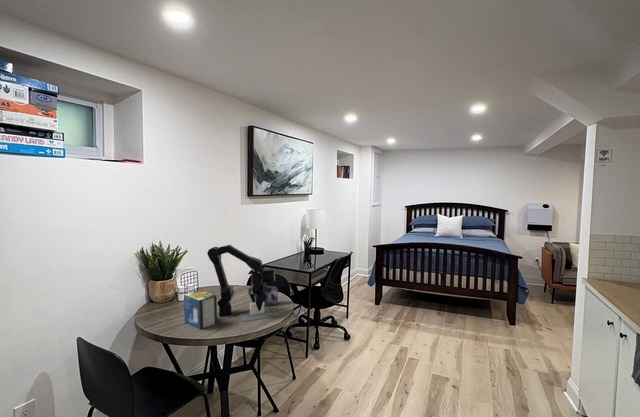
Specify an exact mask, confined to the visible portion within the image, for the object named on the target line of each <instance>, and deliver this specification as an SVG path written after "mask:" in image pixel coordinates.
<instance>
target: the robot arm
mask: <svg viewBox="0 0 640 417" xmlns="http://www.w3.org/2000/svg"><path fill="white" fill-rule="evenodd" d="M226 253H227V254H230V255H231V256H232V257H234V258H236V259H237V260H240V261H242V262H243V263H245V264H246V265H247V266H248V267H249V268H250V270H249V272H247V274H248V275H251V283H250V285H251V287H248V289H247V293H248V295H249V297H250V300H251V303H256V305H257V308H258V311H260V310H261V307H262V303H263V302H264V301H265V300H266V299H267V296H266V295H265V294H264V292H268V293H271V290H272V286H270V285H269V284H268V283H267V282H276V274H275V273H276V272H275V269H272V268H271V269H266V267H265V266H264V265H263V262H262V260H261V259H260V258H257V257H254V256H250V255H248V254H247V253H245V252H243V251H241V250H239V249H238V248H236V247H234V246H233V245H231V244H227V245H223V246H219V247H218V246H212V247H211V248H209V249H208V251H207V256H208V259H209V260H210V262H211V263H212V264H213V267H214V271H215V274H216V276H217V279H218V283H219V286H220V299H219V300H218V301H217V305H218V306H217V315H218V316H219V317H227V316H231V315H232V304H231V301H232V299H233V298H234V296H235V291H234V286H233V285H231V286H230V285H229V282H228V279H227V276H226V273H225V269H224V266H223V264H222V255H224V254H226ZM263 281H264V283H263Z"/></svg>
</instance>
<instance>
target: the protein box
mask: <svg viewBox="0 0 640 417" xmlns="http://www.w3.org/2000/svg"><path fill="white" fill-rule="evenodd" d="M217 300H218V299H217V294H215V293H210V292H209V291H208V292H207V291H204V290H197V291H194V292H188V293H184V294H183V301H184V303H183V306H184V310H183V311H184V323H185V324H187V323H188V324H187V325H189V324H190V325H189V326H191V325H192V326H191V327H193V326H194V327H193V328H195V327H196V328H195V329H197V328H198V330H203V329H206V328H208V327H211V326H214V325H217V324H218V306H217V305H218V304H217V302H218V301H217Z"/></svg>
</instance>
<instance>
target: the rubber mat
mask: <svg viewBox="0 0 640 417" xmlns="http://www.w3.org/2000/svg"><path fill="white" fill-rule="evenodd" d="M264 311H265V313H259V314H253V315H251V314H250V312H244V313H240V314H238V316H239V318H240V319H241V320H242V321H243V323H247V322H252V321H258V320H264V319H269V318H276V315H275V314H274V313H273V311H272V310H270V309H264Z"/></svg>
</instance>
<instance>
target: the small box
mask: <svg viewBox="0 0 640 417" xmlns="http://www.w3.org/2000/svg"><path fill="white" fill-rule="evenodd" d="M271 287H272V290H271V293H268V292H264V294H265V295H266V296H267V299H266V300H265V301H264V307H269V306H270V307H272V306H278V305H279V303H278V301H279V300H278V299H279V293H278V292H279V291H278V290H279V288H278V287H277V286H275V285H272V286H271Z"/></svg>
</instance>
